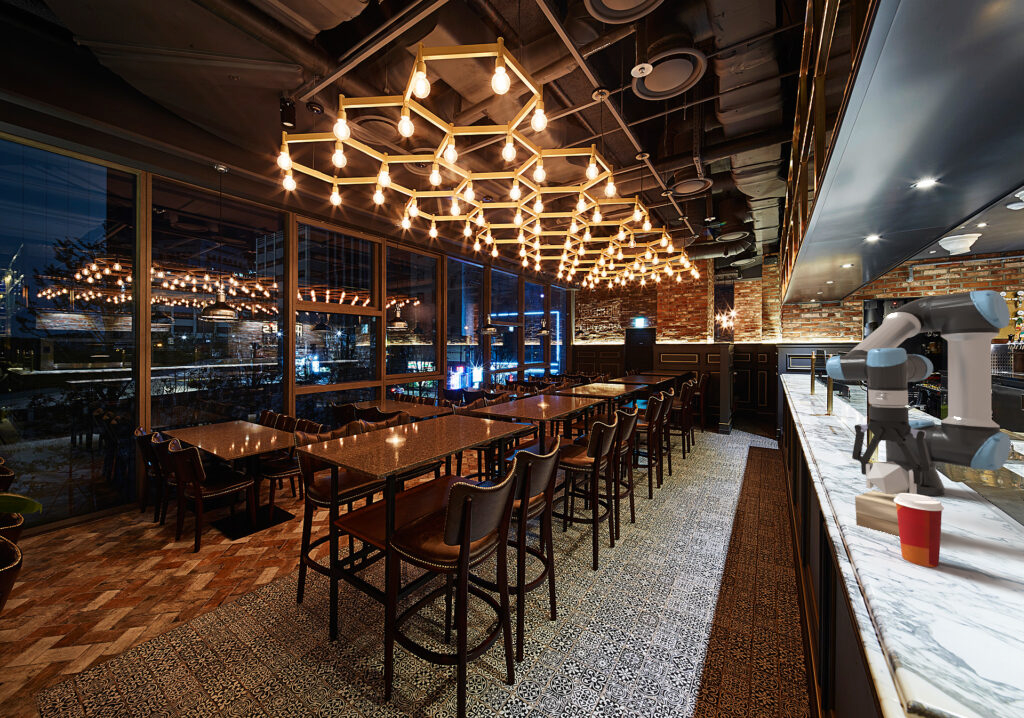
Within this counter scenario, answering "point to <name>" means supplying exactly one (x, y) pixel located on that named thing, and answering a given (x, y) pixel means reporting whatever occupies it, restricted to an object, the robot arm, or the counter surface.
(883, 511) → the tower top slab
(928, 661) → the counter surface
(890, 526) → the tower base slab
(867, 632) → the counter surface
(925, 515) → the paper cup
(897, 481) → the die
